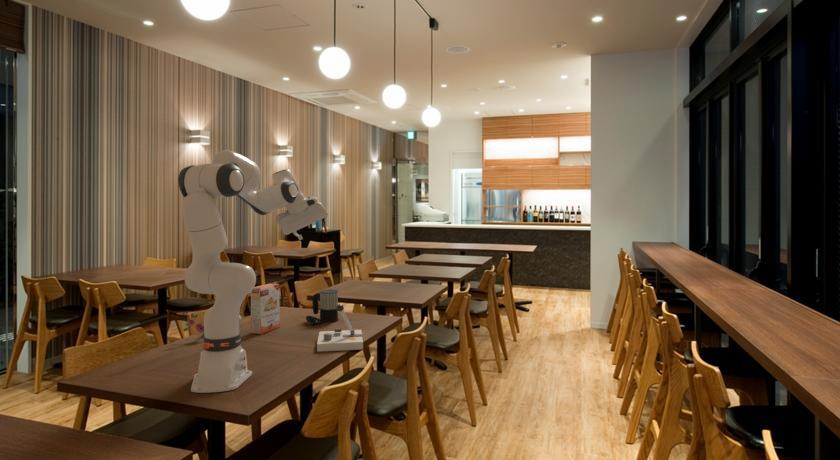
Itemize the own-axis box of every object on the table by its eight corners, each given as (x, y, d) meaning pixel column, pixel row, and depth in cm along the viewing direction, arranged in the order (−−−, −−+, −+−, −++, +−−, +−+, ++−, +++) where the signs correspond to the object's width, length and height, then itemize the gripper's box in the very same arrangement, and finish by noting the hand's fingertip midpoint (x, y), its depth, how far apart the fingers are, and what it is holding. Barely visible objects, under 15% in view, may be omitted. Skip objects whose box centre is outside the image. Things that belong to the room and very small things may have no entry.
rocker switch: (341, 332, 218) (341, 328, 218) (334, 332, 217) (334, 329, 218) (341, 331, 222) (341, 328, 222) (334, 331, 222) (334, 328, 222)
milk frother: (341, 318, 262) (340, 289, 262) (332, 326, 247) (331, 295, 246) (313, 318, 264) (312, 289, 263) (303, 325, 248) (302, 294, 247)
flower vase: (241, 340, 251) (201, 344, 216) (219, 332, 253) (176, 334, 219) (250, 317, 252) (212, 317, 218) (228, 308, 254) (187, 307, 220)
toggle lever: (350, 336, 215) (335, 307, 214) (350, 334, 218) (335, 305, 217) (356, 333, 215) (341, 303, 214) (356, 331, 218) (341, 302, 217)
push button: (331, 339, 210) (331, 335, 210) (323, 339, 210) (323, 335, 209) (331, 337, 213) (331, 333, 213) (323, 337, 213) (323, 333, 213)
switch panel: (363, 349, 208) (362, 341, 207) (317, 351, 205) (316, 343, 205) (361, 336, 227) (361, 329, 227) (319, 338, 225) (319, 331, 225)
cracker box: (261, 335, 232) (260, 288, 230) (250, 333, 234) (249, 287, 232) (281, 327, 245) (279, 283, 243) (270, 326, 247) (269, 282, 246)
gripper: (273, 217, 215) (288, 246, 219) (319, 197, 217) (333, 226, 221) (274, 214, 220) (289, 243, 225) (319, 194, 223) (332, 223, 227)
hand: (311, 234), depth 223 cm, fingers open, 8 cm apart
